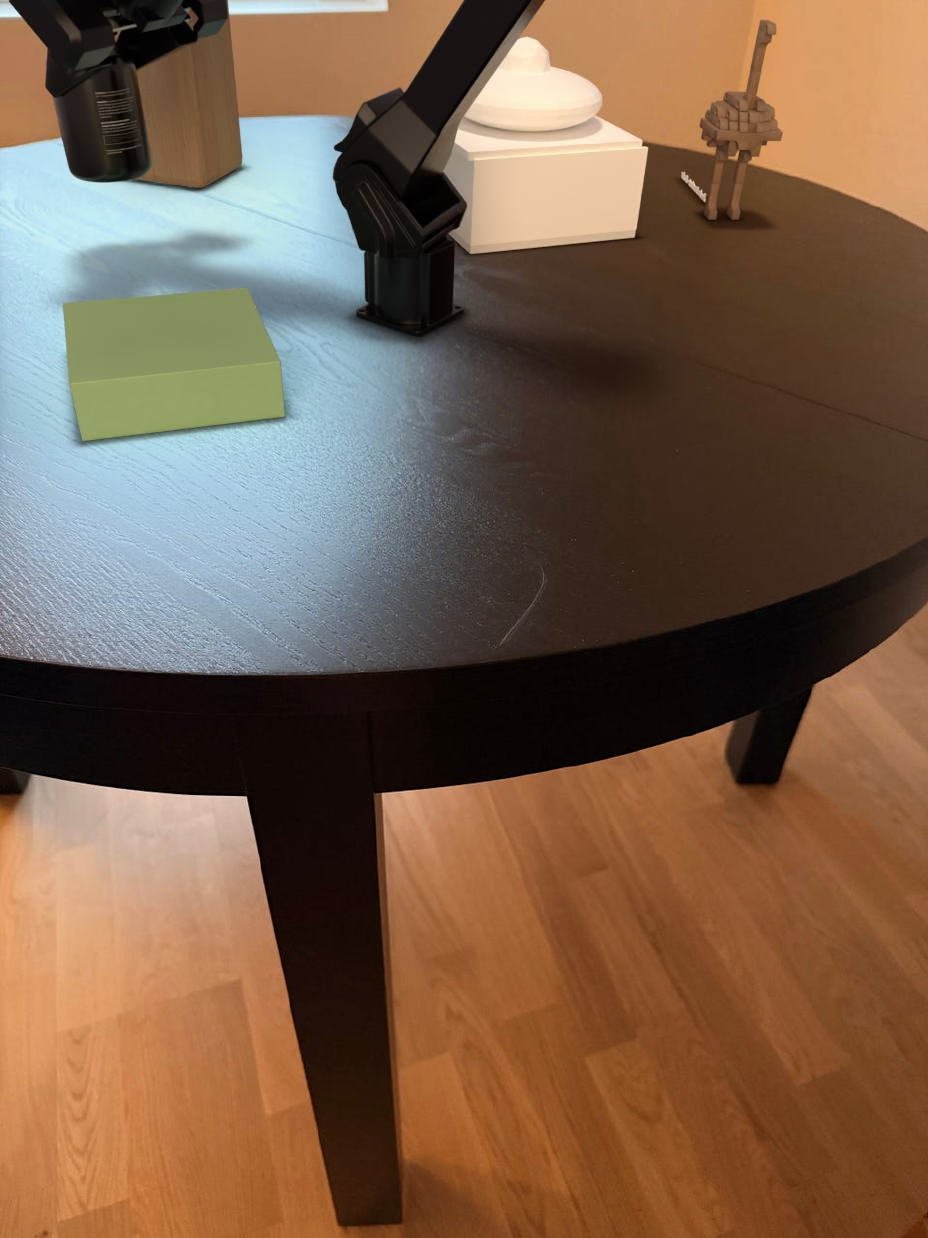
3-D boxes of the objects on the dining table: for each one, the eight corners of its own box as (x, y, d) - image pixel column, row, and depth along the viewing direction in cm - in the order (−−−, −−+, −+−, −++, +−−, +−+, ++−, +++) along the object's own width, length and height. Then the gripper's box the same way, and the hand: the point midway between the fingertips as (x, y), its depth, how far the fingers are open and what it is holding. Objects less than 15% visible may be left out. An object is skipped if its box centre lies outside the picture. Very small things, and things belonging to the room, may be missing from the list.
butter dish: (635, 237, 98) (661, 53, 88) (465, 254, 92) (472, 60, 82) (557, 184, 110) (572, 18, 100) (403, 197, 105) (403, 22, 95)
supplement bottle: (156, 160, 87) (131, 1, 80) (150, 183, 82) (123, 15, 75) (74, 162, 86) (41, 0, 79) (63, 185, 81) (26, 14, 74)
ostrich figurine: (763, 228, 102) (809, 25, 90) (700, 228, 101) (738, 23, 89) (710, 178, 114) (745, -5, 103) (654, 178, 114) (682, -6, 102)
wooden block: (117, 179, 105) (79, -47, 93) (166, 155, 113) (137, -57, 100) (203, 192, 103) (176, -38, 91) (247, 166, 111) (227, -49, 98)
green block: (252, 338, 76) (247, 286, 74) (285, 417, 67) (280, 361, 64) (74, 355, 73) (62, 302, 70) (82, 441, 63) (69, 383, 61)
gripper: (174, -179, 75) (87, -19, 85) (-8, -180, 62) (-86, 10, 72) (274, -46, 78) (178, 94, 88) (120, -19, 64) (27, 142, 75)
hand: (81, 83), depth 80 cm, fingers closed on supplement bottle, 7 cm apart
